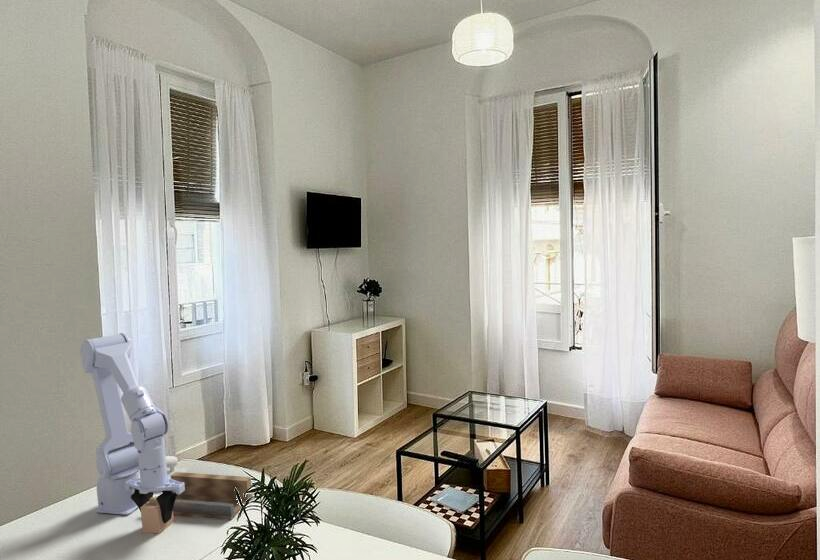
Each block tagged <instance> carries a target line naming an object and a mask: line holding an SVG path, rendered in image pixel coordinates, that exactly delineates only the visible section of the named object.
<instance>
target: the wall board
mask: <svg viewBox="0 0 820 560" xmlns="http://www.w3.org/2000/svg"><path fill="white" fill-rule="evenodd" d="M250 478H251V479H250ZM171 479H173V480H175V481H178V482H183V483H184V484H185V491H183V492H182V493H181V494H178V495H177V497H176V499H180V500H193V501H205V502H218V503H230V504H234V514H233V515H232V516H222V515H210V514H199V513H187V512H176V511H173V516H178V515H180V516H181V517H189V516H194V517H193V518H201V517H203V519H216V520H225V521H232V520H233V519H234V518H235V517H236V516H237V515H238V514H239V513H240V512H241V511H240V509H241V506H240V505H239V503H238V500H236V499H237V498H236V493H235V491H234V487H236V488H237V490H238V491H239V495H240V497H241V499H242V503H243V504H245V502H246V500H247V499H248V498H250V497H252V498H253V493H252V494H247V495H246V497H243V493H244V492H245V491H246V490H247V489H248V488H249V487H250V485H251V486H252V477H251V476H237V475H236V476H235V475H226V474H225V475H224V474H223V475H222V474H210V473H196V472H186V473H183V472H175V473H173V474H172V475H171ZM237 503H238V504H237ZM239 511H240V512H239ZM238 512H239V513H238ZM180 516H179V517H180Z"/></svg>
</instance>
